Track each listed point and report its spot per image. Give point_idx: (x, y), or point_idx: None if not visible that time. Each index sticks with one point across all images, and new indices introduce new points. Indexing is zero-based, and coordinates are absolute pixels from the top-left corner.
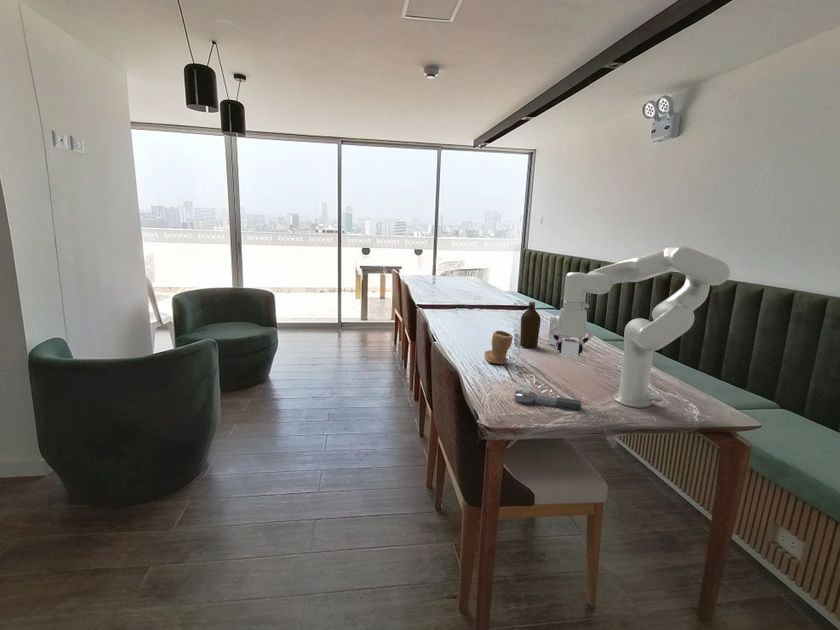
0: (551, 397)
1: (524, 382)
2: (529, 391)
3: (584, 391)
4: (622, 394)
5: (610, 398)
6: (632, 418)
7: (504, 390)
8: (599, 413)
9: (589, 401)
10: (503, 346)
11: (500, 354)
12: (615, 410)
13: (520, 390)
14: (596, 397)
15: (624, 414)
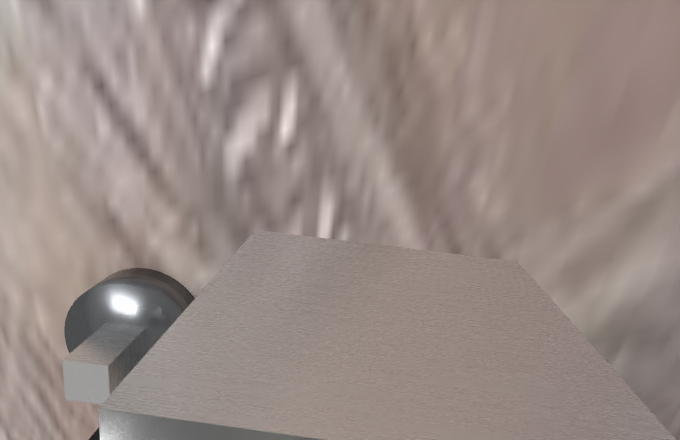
0: None
1: (70, 361)
2: (138, 342)
3: (526, 54)
4: None
5: (675, 148)
6: (675, 415)
7: (13, 200)
8: None
9: (509, 241)
10: None
11: None
12: (624, 337)
13: (90, 293)
14: (579, 156)
15: (653, 377)
